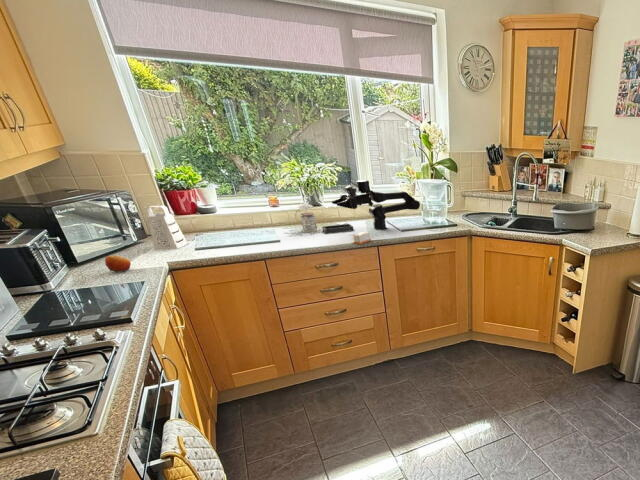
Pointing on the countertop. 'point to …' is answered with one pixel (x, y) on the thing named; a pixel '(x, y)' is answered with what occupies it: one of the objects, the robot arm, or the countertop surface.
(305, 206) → the french press
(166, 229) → the grater
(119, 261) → the fruit
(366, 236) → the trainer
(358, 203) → the robot arm
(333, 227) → the shoe tray
